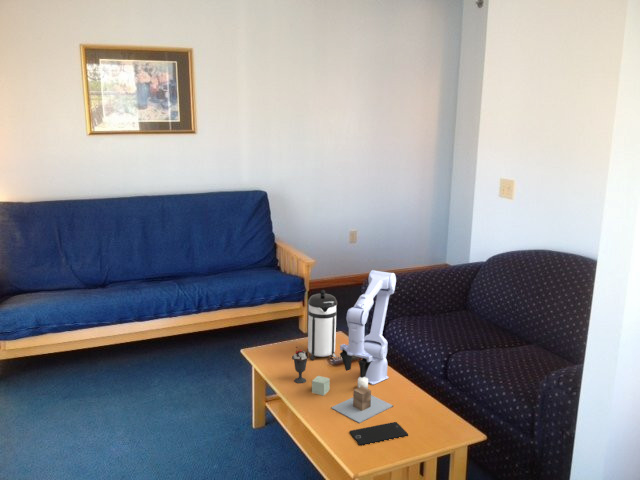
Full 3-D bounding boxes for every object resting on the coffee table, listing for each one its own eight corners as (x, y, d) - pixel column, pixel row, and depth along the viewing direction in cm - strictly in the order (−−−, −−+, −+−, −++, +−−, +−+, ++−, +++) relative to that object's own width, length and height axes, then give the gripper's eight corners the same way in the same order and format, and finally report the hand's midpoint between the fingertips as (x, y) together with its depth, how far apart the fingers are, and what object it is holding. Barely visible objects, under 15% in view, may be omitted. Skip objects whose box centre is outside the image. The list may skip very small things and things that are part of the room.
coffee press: (346, 353, 261) (348, 289, 255) (323, 365, 250) (324, 297, 243) (317, 343, 273) (318, 281, 266) (293, 353, 261) (294, 288, 254)
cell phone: (348, 433, 199) (348, 430, 198) (396, 423, 205) (396, 421, 205) (359, 447, 191) (360, 444, 190) (408, 437, 197) (408, 434, 197)
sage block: (317, 387, 230) (318, 375, 229) (329, 390, 228) (329, 378, 227) (311, 392, 226) (312, 380, 224) (323, 395, 223) (323, 383, 222)
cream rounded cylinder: (362, 385, 232) (362, 375, 231) (369, 388, 229) (370, 379, 229) (355, 388, 230) (355, 378, 229) (362, 392, 227) (363, 382, 226)
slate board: (364, 392, 226) (364, 391, 226) (392, 406, 216) (392, 405, 216) (331, 408, 214) (331, 407, 214) (359, 423, 204) (359, 422, 204)
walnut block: (361, 402, 218) (362, 386, 216) (370, 406, 215) (371, 390, 213) (353, 406, 215) (353, 389, 213) (362, 410, 212) (362, 394, 210)
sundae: (289, 382, 233) (289, 347, 230) (296, 375, 239) (296, 341, 236) (304, 385, 231) (304, 350, 228) (311, 378, 237) (311, 343, 234)
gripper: (334, 336, 220) (334, 370, 223) (363, 348, 209) (362, 383, 212) (347, 331, 224) (347, 364, 227) (376, 342, 214) (375, 377, 217)
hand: (355, 373), depth 220 cm, fingers open, 7 cm apart
